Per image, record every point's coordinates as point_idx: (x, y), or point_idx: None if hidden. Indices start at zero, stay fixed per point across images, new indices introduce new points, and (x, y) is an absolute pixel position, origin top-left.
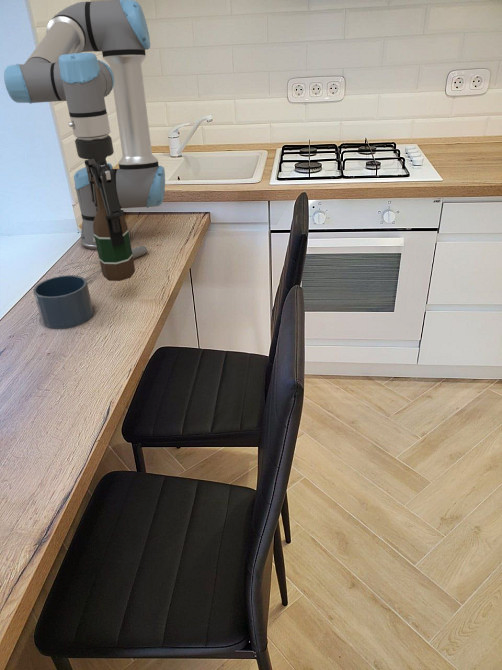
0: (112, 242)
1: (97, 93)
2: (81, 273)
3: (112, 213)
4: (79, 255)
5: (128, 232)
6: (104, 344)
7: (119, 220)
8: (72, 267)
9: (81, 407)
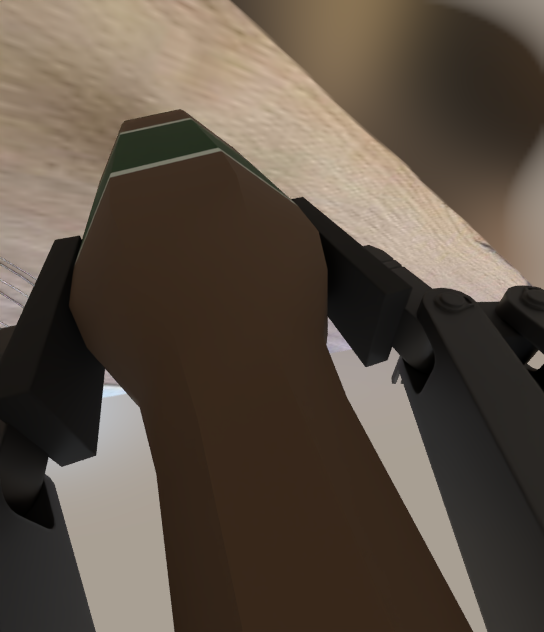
0: None
1: None
2: (16, 289)
3: (527, 365)
4: None
5: (218, 147)
6: (351, 235)
7: (386, 271)
8: (5, 324)
9: (454, 273)
